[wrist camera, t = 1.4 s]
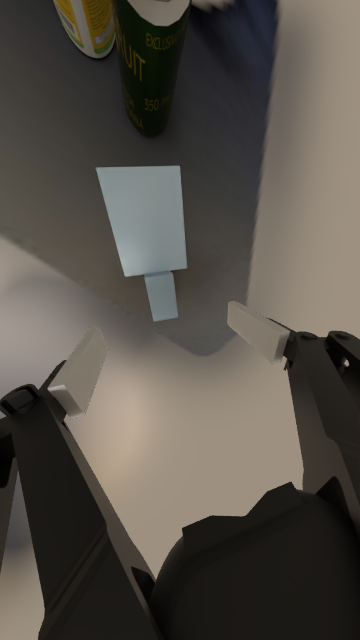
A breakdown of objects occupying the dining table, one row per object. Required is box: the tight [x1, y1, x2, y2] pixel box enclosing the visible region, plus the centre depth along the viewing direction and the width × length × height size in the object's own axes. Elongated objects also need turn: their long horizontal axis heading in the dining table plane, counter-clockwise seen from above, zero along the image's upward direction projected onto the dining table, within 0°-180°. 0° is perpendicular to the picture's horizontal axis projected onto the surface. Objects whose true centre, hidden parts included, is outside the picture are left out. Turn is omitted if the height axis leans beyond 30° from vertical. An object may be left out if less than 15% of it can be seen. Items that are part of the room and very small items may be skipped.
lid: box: [96, 166, 187, 322], centre depth 18 cm, size 17×9×4 cm, turn 6°
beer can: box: [111, 0, 192, 136], centre depth 12 cm, size 5×5×12 cm
